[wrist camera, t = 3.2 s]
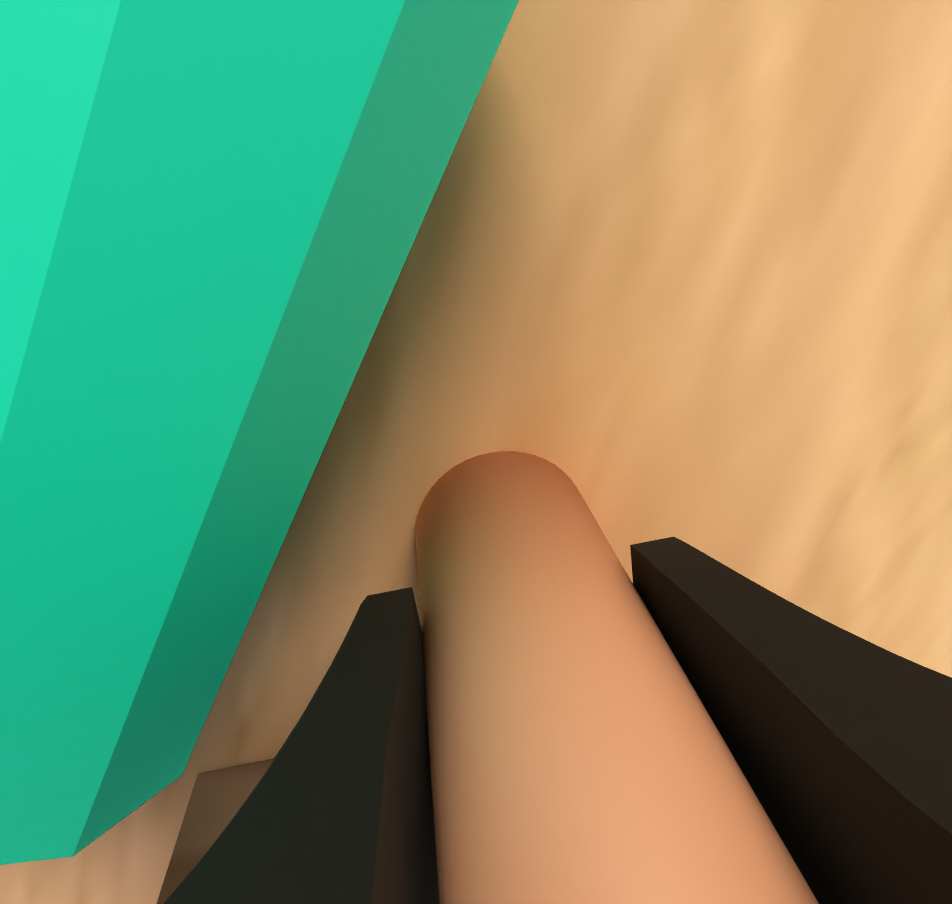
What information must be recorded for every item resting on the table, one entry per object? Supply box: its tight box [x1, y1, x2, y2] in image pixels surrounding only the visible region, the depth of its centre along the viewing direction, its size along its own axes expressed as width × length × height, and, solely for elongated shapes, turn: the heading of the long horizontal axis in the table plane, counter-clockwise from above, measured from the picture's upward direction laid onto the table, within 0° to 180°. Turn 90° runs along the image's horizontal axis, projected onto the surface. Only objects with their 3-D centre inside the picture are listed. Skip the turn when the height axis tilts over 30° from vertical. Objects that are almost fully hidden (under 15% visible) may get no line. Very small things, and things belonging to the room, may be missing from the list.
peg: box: [415, 451, 819, 904], centre depth 8 cm, size 3×3×10 cm
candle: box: [0, 0, 519, 865], centre depth 7 cm, size 6×6×12 cm
